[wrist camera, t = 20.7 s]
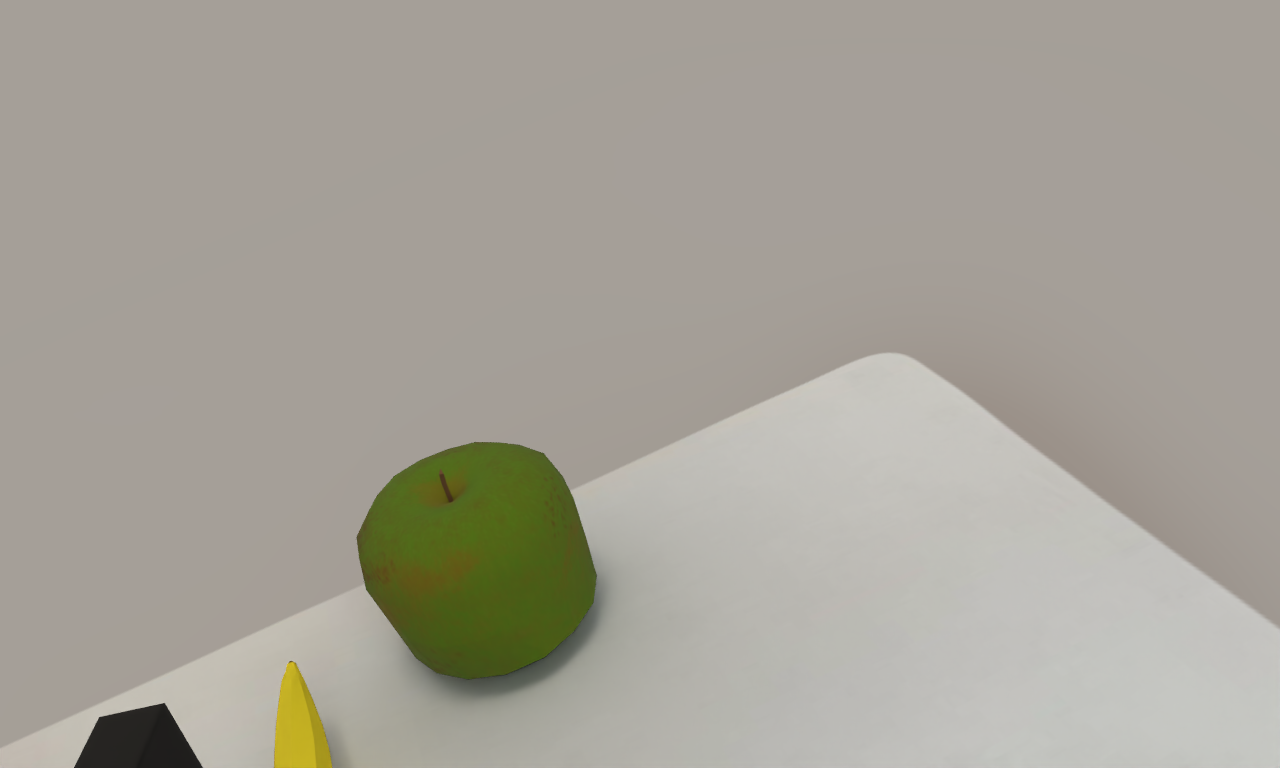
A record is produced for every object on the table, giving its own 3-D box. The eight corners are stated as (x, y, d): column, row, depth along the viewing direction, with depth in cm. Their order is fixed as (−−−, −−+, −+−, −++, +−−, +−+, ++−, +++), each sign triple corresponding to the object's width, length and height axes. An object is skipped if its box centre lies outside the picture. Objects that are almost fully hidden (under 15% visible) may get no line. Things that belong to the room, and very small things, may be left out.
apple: (617, 543, 65) (558, 386, 59) (601, 686, 55) (528, 515, 50) (437, 577, 67) (363, 429, 61) (392, 720, 58) (301, 560, 52)
